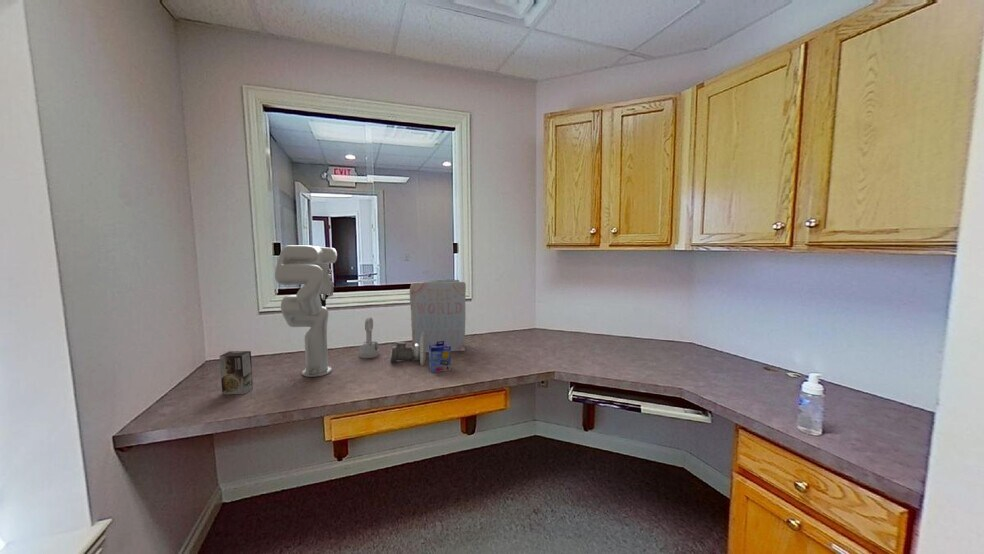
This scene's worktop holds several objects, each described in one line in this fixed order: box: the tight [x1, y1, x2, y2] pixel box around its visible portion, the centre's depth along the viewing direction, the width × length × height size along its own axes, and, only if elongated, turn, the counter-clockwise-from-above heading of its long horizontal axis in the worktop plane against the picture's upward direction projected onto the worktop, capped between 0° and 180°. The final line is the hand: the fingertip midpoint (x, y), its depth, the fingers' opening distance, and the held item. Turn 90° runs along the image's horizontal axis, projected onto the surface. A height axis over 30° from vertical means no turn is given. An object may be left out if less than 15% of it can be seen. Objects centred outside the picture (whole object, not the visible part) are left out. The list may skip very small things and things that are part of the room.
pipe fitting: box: [389, 341, 414, 363], centre depth 198 cm, size 12×8×10 cm
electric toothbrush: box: [358, 316, 380, 359], centre depth 208 cm, size 11×20×10 cm
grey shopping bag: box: [409, 279, 467, 353], centre depth 222 cm, size 17×31×40 cm, turn 101°
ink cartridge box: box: [428, 341, 452, 373], centre depth 185 cm, size 10×6×14 cm, turn 111°
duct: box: [413, 331, 427, 366], centre depth 199 cm, size 14×5×14 cm, turn 5°
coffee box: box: [218, 350, 254, 395], centre depth 157 cm, size 9×6×16 cm
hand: (322, 307), depth 200 cm, fingers closed
